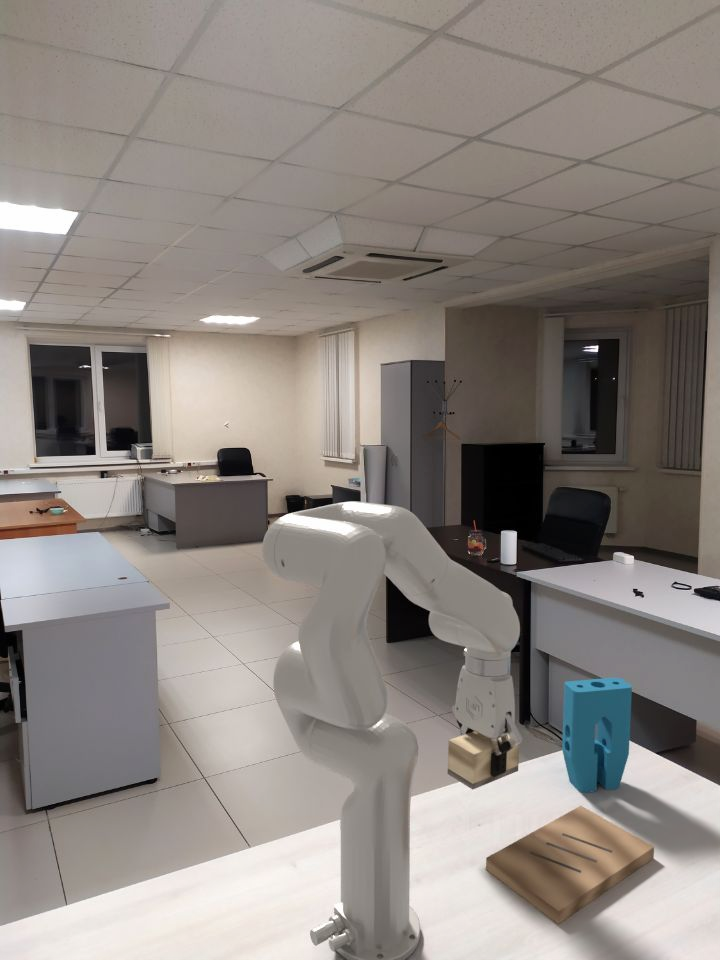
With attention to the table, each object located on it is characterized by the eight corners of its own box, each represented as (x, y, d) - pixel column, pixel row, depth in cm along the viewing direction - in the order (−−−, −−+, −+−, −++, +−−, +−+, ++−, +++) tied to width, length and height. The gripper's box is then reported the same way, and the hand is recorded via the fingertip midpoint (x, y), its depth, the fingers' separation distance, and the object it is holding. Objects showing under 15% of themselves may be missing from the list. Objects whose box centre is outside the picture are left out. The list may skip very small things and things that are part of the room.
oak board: (558, 924, 96) (559, 910, 96) (486, 869, 107) (486, 857, 107) (653, 858, 110) (654, 846, 110) (580, 816, 121) (580, 805, 121)
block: (614, 773, 135) (619, 677, 133) (629, 787, 130) (634, 687, 128) (559, 779, 133) (562, 681, 131) (572, 794, 128) (575, 692, 126)
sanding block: (472, 789, 111) (474, 754, 111) (447, 773, 116) (448, 740, 115) (518, 770, 117) (519, 737, 117) (492, 756, 122) (493, 724, 122)
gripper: (436, 653, 120) (433, 751, 121) (511, 684, 106) (506, 795, 107) (467, 645, 124) (463, 740, 126) (542, 675, 110) (537, 781, 112)
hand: (483, 764), depth 117 cm, fingers closed on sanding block, 6 cm apart
